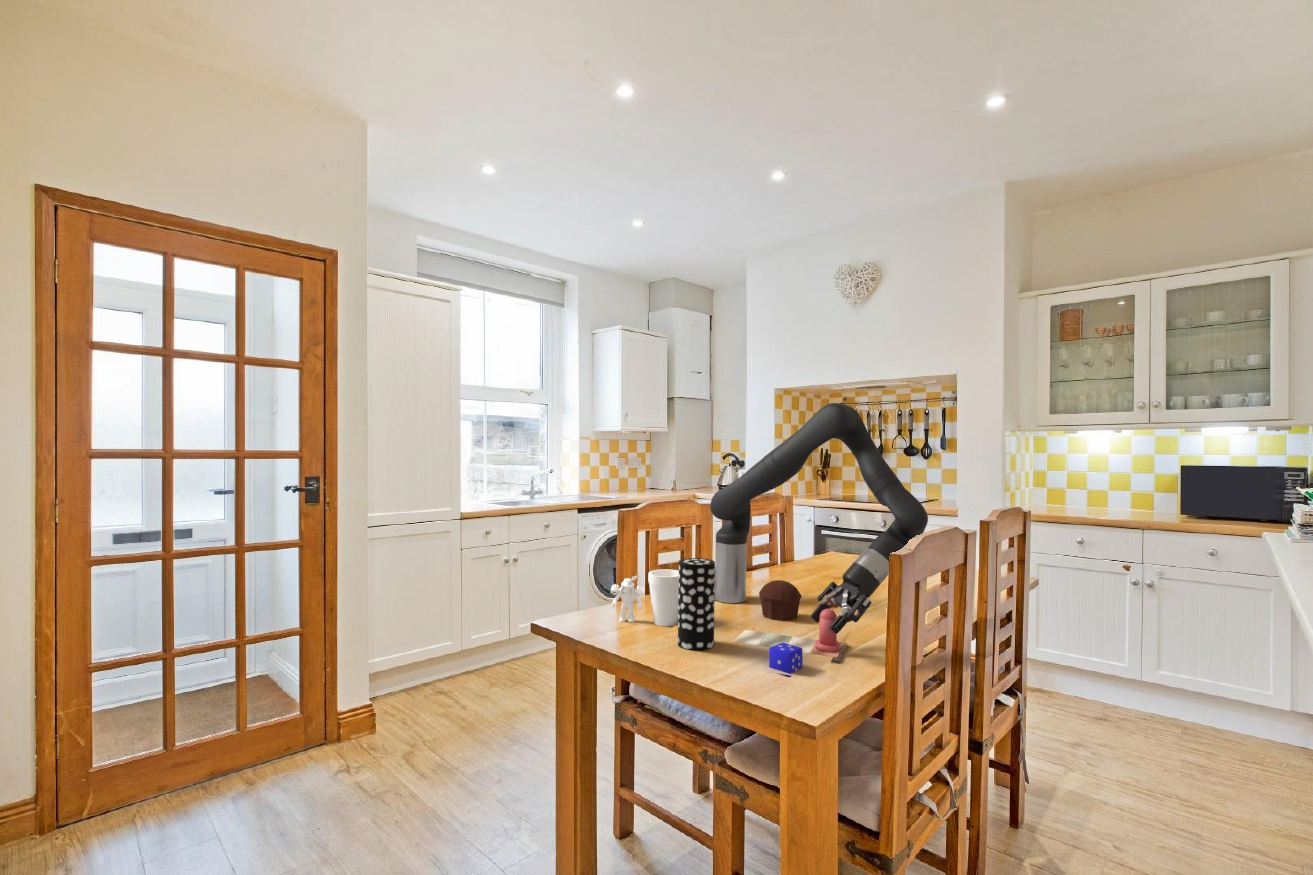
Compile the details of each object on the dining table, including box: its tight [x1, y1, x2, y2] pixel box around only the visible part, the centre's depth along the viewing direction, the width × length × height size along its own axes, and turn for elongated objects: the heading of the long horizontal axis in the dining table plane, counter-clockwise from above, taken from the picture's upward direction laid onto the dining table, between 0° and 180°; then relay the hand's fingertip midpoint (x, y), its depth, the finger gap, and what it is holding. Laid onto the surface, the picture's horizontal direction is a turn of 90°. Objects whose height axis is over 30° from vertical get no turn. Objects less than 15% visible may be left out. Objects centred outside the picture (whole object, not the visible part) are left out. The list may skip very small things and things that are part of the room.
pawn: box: [814, 608, 841, 653], centre depth 144 cm, size 6×6×9 cm
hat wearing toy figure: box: [610, 574, 645, 623], centre depth 167 cm, size 9×4×12 cm, turn 80°
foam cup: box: [647, 568, 679, 627], centre depth 165 cm, size 10×9×13 cm
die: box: [768, 643, 803, 678], centre depth 132 cm, size 5×5×5 cm
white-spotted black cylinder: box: [677, 557, 715, 652], centre depth 146 cm, size 8×8×20 cm
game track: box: [732, 629, 848, 664], centre depth 148 cm, size 25×13×1 cm, turn 66°
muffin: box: [758, 579, 802, 622], centre depth 170 cm, size 12×11×10 cm
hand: (822, 625), depth 144 cm, fingers open, 8 cm apart
